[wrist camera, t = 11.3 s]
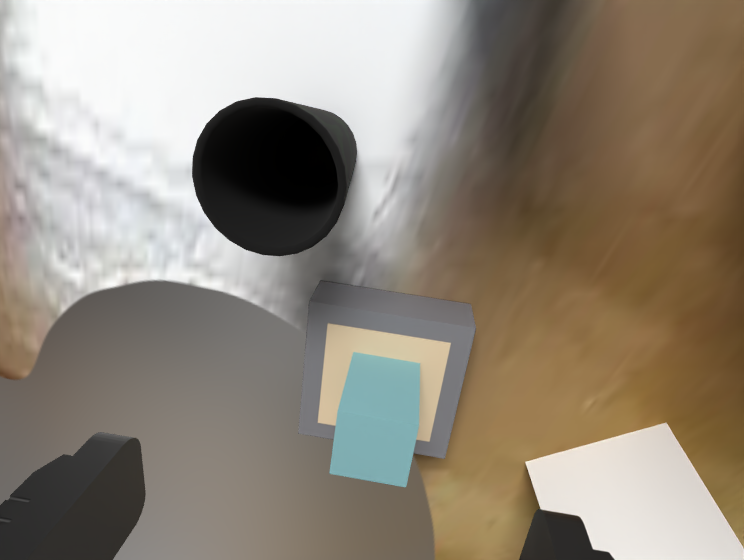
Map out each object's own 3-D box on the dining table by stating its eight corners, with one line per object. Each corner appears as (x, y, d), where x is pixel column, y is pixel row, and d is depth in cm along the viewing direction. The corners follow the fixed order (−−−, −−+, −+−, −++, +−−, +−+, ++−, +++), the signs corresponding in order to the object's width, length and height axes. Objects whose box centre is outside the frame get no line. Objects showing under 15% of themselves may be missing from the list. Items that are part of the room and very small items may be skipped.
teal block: (420, 363, 35) (419, 425, 29) (409, 417, 37) (406, 487, 31) (353, 351, 36) (337, 411, 29) (346, 406, 37) (329, 473, 31)
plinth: (470, 304, 38) (476, 328, 34) (443, 425, 42) (444, 459, 38) (320, 280, 38) (308, 302, 34) (309, 403, 43) (298, 434, 39)
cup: (362, 212, 36) (334, 269, 25) (262, 193, 36) (190, 241, 25) (379, 103, 33) (356, 113, 22) (270, 83, 33) (192, 83, 22)
